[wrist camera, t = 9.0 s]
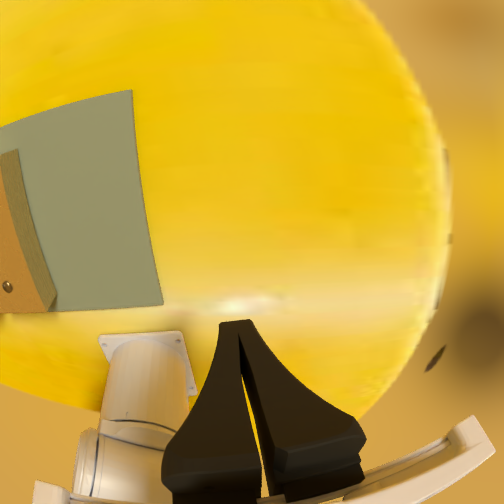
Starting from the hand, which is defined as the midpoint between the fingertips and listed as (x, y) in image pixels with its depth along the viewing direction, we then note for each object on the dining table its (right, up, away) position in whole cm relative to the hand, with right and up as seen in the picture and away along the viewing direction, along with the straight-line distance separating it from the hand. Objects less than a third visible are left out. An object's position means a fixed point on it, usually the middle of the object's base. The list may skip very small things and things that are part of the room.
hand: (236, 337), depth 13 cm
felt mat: (-20, +5, +5) cm, 21 cm away
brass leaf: (-21, +5, +4) cm, 22 cm away
